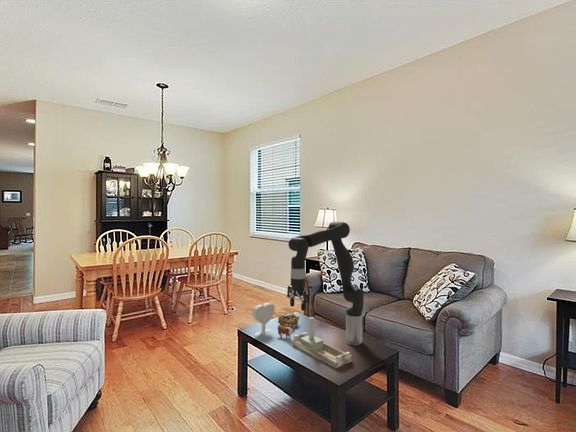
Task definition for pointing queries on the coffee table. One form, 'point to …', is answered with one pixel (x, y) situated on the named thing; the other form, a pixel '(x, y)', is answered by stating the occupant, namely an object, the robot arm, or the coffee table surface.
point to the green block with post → (312, 337)
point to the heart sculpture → (263, 315)
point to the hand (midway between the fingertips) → (297, 308)
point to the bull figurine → (284, 331)
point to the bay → (324, 352)
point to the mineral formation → (288, 320)
